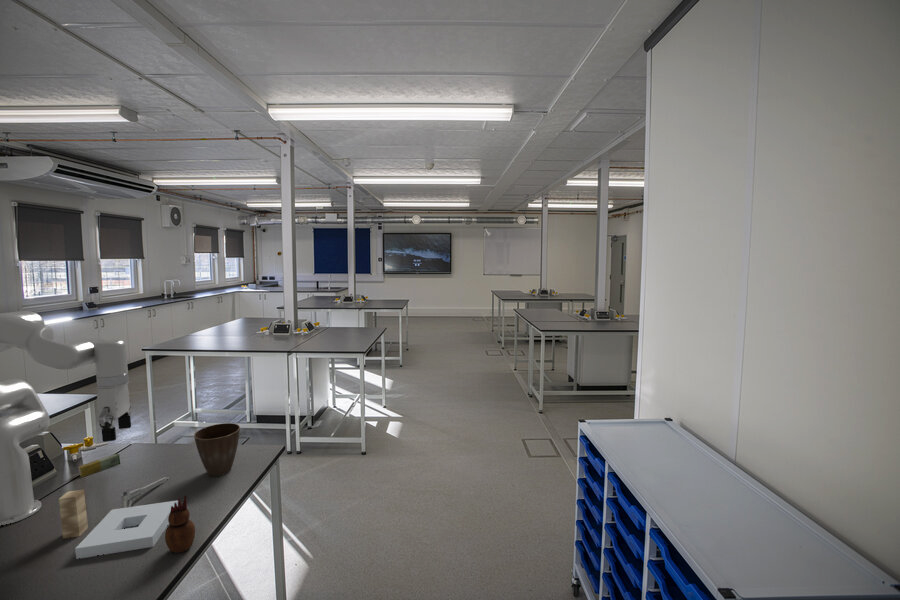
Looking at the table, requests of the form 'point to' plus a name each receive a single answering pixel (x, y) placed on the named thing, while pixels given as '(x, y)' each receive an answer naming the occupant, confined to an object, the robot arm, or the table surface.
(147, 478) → the table surface
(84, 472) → the medication box
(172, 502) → the socket plate
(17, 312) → the robot arm
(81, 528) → the maple peg
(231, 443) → the plant pot
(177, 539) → the wooden figurine
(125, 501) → the caliper
